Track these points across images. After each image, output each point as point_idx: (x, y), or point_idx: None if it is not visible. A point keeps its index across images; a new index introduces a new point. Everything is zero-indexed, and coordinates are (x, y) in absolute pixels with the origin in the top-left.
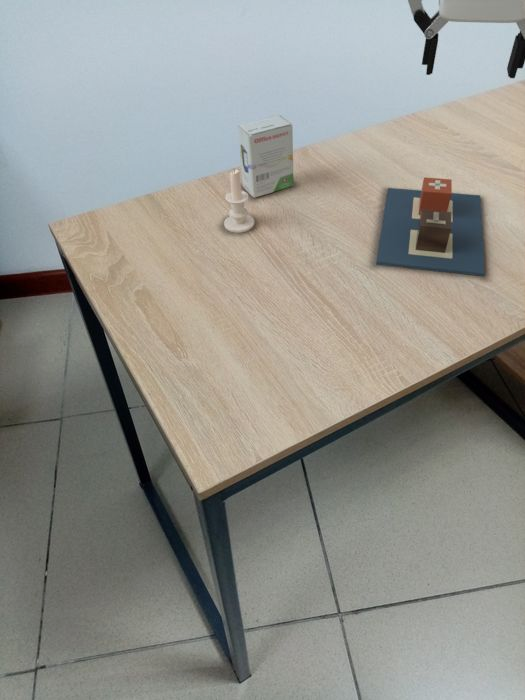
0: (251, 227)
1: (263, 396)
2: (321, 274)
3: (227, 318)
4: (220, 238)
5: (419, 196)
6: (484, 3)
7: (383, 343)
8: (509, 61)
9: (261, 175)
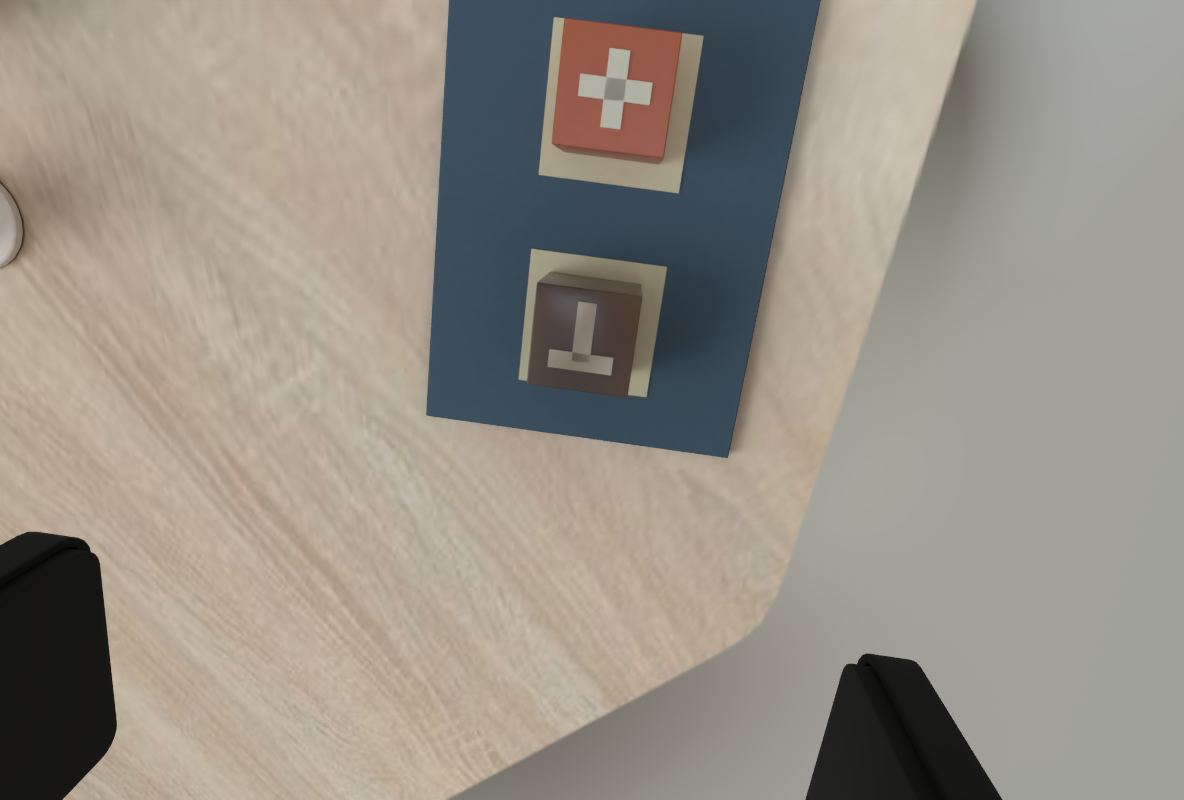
0: (18, 244)
1: (243, 794)
2: (285, 457)
3: None
4: None
5: (577, 5)
6: None
7: (456, 676)
8: (865, 751)
9: None
